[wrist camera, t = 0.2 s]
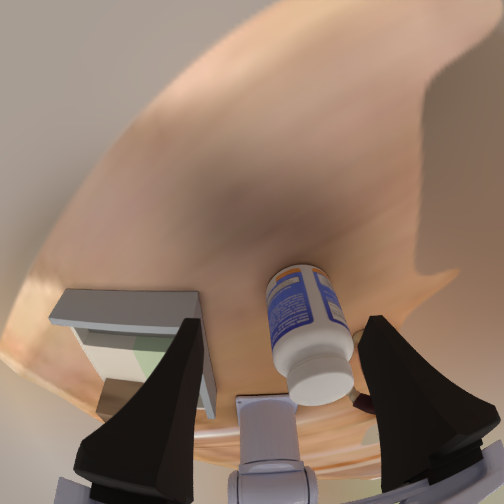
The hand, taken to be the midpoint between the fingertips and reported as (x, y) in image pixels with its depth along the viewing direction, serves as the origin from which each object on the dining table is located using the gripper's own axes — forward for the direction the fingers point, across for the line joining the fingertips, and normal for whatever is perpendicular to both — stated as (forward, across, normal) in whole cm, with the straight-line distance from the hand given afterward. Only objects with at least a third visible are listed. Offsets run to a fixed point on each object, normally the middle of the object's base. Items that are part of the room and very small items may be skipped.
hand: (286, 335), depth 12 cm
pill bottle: (+10, -3, +6) cm, 12 cm away
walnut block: (+8, +15, +21) cm, 27 cm away
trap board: (+10, +12, +15) cm, 22 cm away
